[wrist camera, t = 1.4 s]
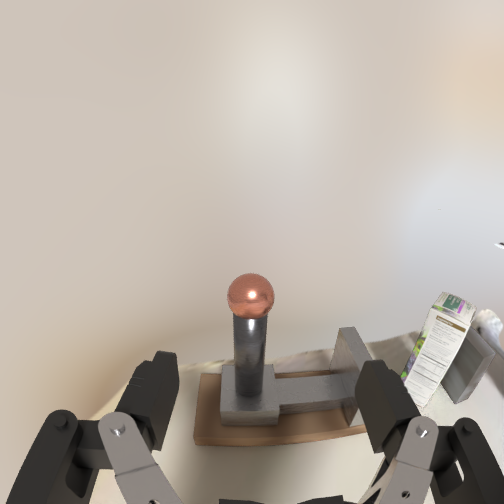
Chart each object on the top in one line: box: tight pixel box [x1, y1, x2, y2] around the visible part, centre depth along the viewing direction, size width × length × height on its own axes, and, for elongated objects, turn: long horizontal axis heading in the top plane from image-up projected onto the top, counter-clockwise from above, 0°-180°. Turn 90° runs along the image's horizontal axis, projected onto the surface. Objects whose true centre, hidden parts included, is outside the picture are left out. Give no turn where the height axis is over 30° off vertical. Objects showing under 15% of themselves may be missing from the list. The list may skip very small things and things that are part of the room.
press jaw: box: [220, 273, 372, 427], centre depth 26 cm, size 16×10×17 cm, turn 92°
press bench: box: [193, 326, 496, 446], centre depth 29 cm, size 38×10×9 cm, turn 92°
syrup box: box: [400, 292, 477, 408], centre depth 29 cm, size 6×6×14 cm
